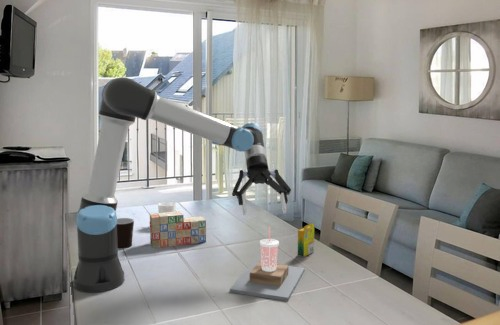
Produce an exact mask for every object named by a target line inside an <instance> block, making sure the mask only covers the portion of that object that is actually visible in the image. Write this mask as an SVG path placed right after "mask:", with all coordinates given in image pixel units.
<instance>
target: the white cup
mask: <svg viewBox="0 0 500 325" xmlns="http://www.w3.org/2000/svg"><path fill="white" fill-rule="evenodd" d="M157 209H158V211H157V213H165V212H176V210H177V203H176V202H172V201H163V202H159V203H157Z"/></svg>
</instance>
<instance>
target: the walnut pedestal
mask: <svg viewBox="0 0 500 325" xmlns="http://www.w3.org/2000/svg"><path fill="white" fill-rule="evenodd" d="M288 267H289V265H287V264H280V263H277V264H276V270H275V271H272V272H267V271H263V270H262V266H261V261H258V264H257V265H256V266H255V267H254V268H253V269H252V271H251V272H250V282H254V283H261V284H268V285H275V286H281V285H282V283H283V282H284V280H285V279H286V277H287V276H288Z"/></svg>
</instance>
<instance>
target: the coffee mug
mask: <svg viewBox="0 0 500 325" xmlns="http://www.w3.org/2000/svg"><path fill="white" fill-rule="evenodd" d="M134 223H135V220H134V218H130V217H119V218H118V217H117V245H118V250H119V249H122V250H123V249H128V248H132V246H133V235H134Z"/></svg>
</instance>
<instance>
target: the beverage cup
mask: <svg viewBox="0 0 500 325" xmlns="http://www.w3.org/2000/svg"><path fill="white" fill-rule="evenodd" d="M259 245H260V262H261V266H262V270H263V271H267V272H272V271H275V270H276V264H278V263H277V261H278V251H279V245H280V241H279V240H278V239H274V238H271V226H270V225H269V226H268V238H263V239H260V240H259Z"/></svg>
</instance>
